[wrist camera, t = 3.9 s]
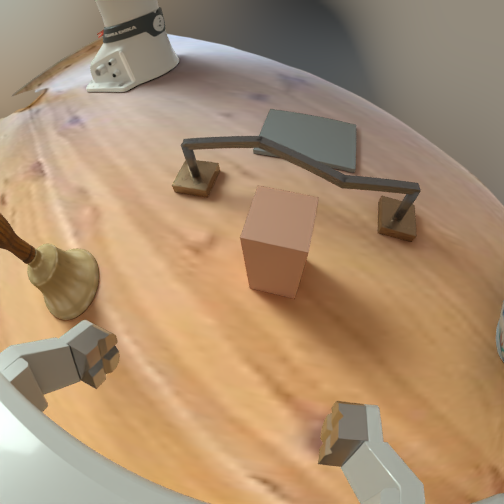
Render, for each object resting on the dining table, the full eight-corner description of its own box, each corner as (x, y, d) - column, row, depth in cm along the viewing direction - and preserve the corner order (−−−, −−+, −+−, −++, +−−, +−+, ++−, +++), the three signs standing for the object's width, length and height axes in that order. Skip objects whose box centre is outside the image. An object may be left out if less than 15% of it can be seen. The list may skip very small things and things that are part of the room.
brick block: (249, 288, 24) (240, 237, 16) (261, 248, 26) (257, 185, 18) (294, 298, 23) (308, 252, 15) (303, 257, 25) (318, 197, 17)
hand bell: (112, 264, 26) (12, 161, 12) (76, 334, 23) (-50, 271, 8) (68, 240, 28) (-15, 153, 13) (36, 299, 24) (-63, 233, 10)
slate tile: (253, 153, 31) (253, 149, 31) (270, 112, 35) (270, 109, 35) (354, 173, 29) (355, 169, 29) (355, 128, 33) (356, 124, 33)
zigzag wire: (174, 192, 29) (158, 154, 24) (188, 166, 31) (176, 127, 26) (411, 241, 25) (437, 209, 20) (410, 211, 27) (432, 176, 21)
